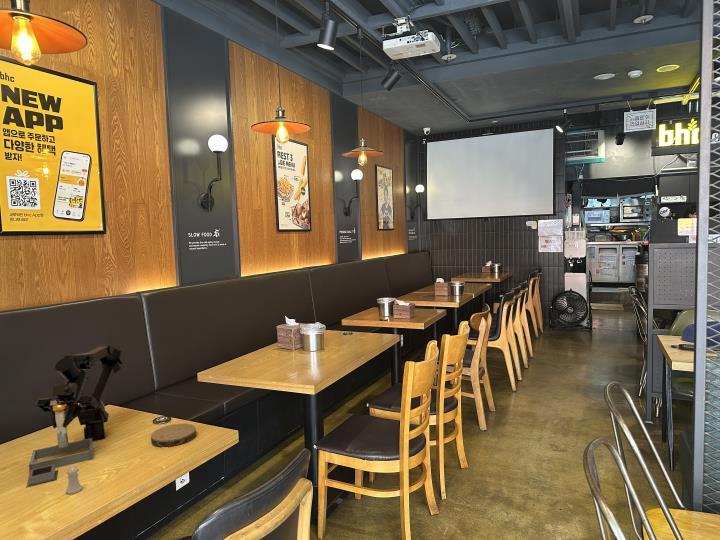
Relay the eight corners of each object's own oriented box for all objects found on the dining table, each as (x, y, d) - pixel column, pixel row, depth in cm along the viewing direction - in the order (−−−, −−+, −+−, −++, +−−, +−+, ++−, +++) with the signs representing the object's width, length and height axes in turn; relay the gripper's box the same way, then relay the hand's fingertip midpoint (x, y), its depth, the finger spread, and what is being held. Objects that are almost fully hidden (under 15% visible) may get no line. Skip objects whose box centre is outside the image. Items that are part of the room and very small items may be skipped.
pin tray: (92, 448, 175) (92, 437, 175) (93, 461, 164) (92, 450, 164) (34, 461, 166) (33, 450, 166) (30, 476, 155) (29, 464, 155)
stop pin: (70, 442, 166) (66, 401, 165) (70, 446, 163) (66, 405, 161) (56, 445, 164) (52, 404, 163) (56, 449, 161) (52, 407, 159)
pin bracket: (58, 473, 157) (57, 462, 157) (57, 483, 150) (56, 472, 150) (29, 479, 153) (28, 469, 153) (26, 490, 146) (25, 479, 146)
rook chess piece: (70, 490, 145) (68, 465, 144) (85, 489, 145) (83, 464, 145) (62, 498, 140) (60, 472, 140) (78, 497, 141) (76, 471, 140)
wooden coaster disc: (169, 451, 170) (168, 443, 170) (142, 443, 179) (141, 435, 178) (205, 435, 184) (204, 427, 183) (178, 428, 192) (177, 421, 192)
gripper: (36, 376, 165) (18, 419, 155) (91, 373, 166) (76, 416, 156) (51, 390, 173) (35, 432, 163) (104, 388, 174) (91, 429, 164)
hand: (59, 427), depth 161 cm, fingers closed on stop pin, 3 cm apart
